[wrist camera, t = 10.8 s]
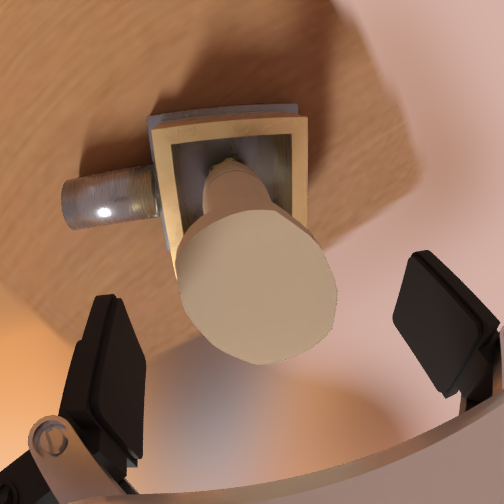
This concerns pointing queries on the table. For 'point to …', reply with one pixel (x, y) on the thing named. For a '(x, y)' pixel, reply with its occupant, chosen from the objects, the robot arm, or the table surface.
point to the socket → (197, 168)
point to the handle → (253, 272)
